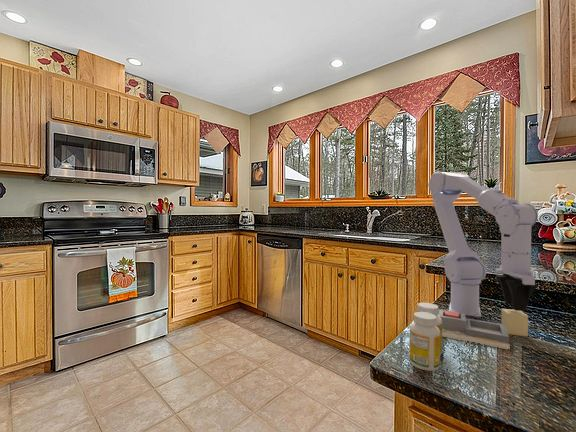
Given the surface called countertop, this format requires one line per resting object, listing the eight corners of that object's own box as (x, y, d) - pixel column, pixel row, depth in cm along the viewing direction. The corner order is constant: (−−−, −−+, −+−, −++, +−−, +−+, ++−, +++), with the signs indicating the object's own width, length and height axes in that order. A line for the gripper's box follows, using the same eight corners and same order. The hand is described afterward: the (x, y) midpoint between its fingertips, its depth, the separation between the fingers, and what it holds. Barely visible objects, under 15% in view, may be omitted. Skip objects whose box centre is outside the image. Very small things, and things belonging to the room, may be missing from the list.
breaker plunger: (445, 322, 72) (445, 310, 72) (458, 324, 71) (458, 312, 71) (444, 326, 70) (444, 314, 70) (458, 328, 68) (458, 316, 68)
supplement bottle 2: (416, 371, 52) (417, 320, 52) (404, 357, 57) (405, 310, 57) (446, 372, 52) (446, 320, 52) (431, 357, 57) (431, 310, 57)
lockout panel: (436, 321, 76) (437, 306, 76) (503, 333, 69) (503, 317, 69) (433, 334, 68) (434, 318, 68) (509, 350, 60) (509, 331, 60)
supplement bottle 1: (445, 358, 57) (446, 310, 57) (417, 355, 58) (417, 308, 58) (437, 346, 62) (437, 302, 62) (411, 343, 63) (411, 300, 63)
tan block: (501, 327, 72) (501, 308, 72) (520, 330, 71) (520, 310, 71) (507, 334, 69) (508, 313, 69) (527, 336, 67) (528, 315, 67)
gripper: (486, 248, 78) (486, 297, 78) (508, 255, 64) (507, 315, 64) (517, 249, 75) (517, 299, 76) (546, 257, 62) (546, 319, 62)
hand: (515, 307), depth 70 cm, fingers open, 4 cm apart
